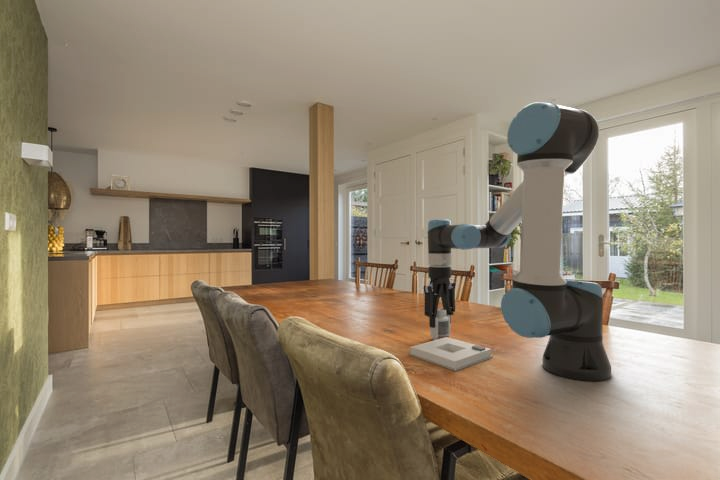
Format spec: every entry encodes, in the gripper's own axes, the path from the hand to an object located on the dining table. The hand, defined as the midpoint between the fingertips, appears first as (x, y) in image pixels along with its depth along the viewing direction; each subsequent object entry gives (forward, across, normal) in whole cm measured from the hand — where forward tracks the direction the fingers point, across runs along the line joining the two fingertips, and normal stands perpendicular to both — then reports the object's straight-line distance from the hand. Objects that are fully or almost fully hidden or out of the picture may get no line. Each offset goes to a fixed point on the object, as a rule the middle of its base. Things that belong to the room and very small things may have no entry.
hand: (440, 335), depth 122 cm
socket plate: (+1, +11, +13) cm, 17 cm away
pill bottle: (+1, 0, 0) cm, 1 cm away
